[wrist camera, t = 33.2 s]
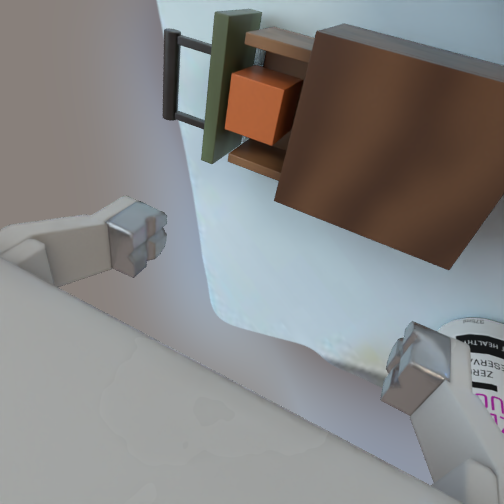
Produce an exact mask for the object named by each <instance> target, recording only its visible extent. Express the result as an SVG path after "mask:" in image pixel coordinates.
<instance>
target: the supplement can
mask: <svg viewBox="0 0 504 504" xmlns="http://www.w3.org/2000/svg"><path fill="white" fill-rule="evenodd" d="M437 332H439V333H442V334H444V335H446V336H448V337H449V336H450V337H452V338H455V339H457V340H459V341H462V342H464V343H467V344H468V345H469V347H470V355H471V374H472V393H473V394H475V395H477V396H479V398H480V399H481V401H482V402H483V404H484V405H485V407H486V408H487V410H488V412H489V413H490V415H491V416H492V418H493V419H494V421H495V422H496V424H497V425H498V427H499V428H500V430H501V431H502V433H503V434H504V325H503V324H502V323H498V322H495V321H492V320H488V319H484V318H463V319H458V320H453V321H451V322H449V323H447V324H445V325H443V326H441V327H440V329H439V330H438V331H437Z"/></svg>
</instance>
